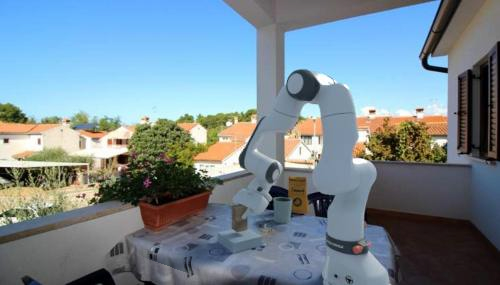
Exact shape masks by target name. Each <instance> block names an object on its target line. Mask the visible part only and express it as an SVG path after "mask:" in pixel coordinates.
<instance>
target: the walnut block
mask: <svg viewBox="0 0 500 285" xmlns="http://www.w3.org/2000/svg"><path fill="white" fill-rule="evenodd" d="M246 211H247V207H245V206H243V205H236V204H235V205H231V229H233V230H234V231H236V232H241V231H245V230H248V229H249V228H248V227H249V226H248V225H249V224H248V223H249V222H248V219H249V218H248V217H249V215H248V216H247V217H246V218H245V219H242V218H241V217H240V216H241V214H242V213H244V212H246Z"/></svg>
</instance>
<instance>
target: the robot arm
mask: <svg viewBox="0 0 500 285" xmlns="http://www.w3.org/2000/svg"><path fill="white" fill-rule="evenodd" d="M306 104H310V105H317V106H318V107H319V113H320V122H321V130H322V149H321V155H320V157H319V160H318V163H317V164H316V166H314V168H313V171H312V174H311V178H312V183H313V186H314V187H315V189H316V190H317V191H318V192H320V193H321V194H323V195H329V196H334V197H333V200H332V202H331V204H329V205H328V209H327V220H326V221H327V226H326V227H327V229H326V230H327V231H326V232H325V245H326V249H325V250H326V251H325V260H324V264H323V269H322V271H321V276H322V279H323V280H322V285H392V284H391V283H390V278H389V273H388V271H387V269H386V268H385V267H384V266H383V265H382V264H381V263H380V261H378V259H377V258H376V257H375V256H374V255H373V253H371V252H370V250H369V248H370V247H372V245H371V244H372V242H371V241H370V242H368V243H367V240H366V238H365V236H364V231H363V229H364V221H365V211H366V206H367V205H366V204H367V202H368V199H369V198H368V197H369V194H370V191H371V188H372V186H373V185H374V183H375V182H376V179H377V177H378V176H377V174H378V173H377V169H376V166H375V165H374V164H373V163H372V162H371V161H370V160H367V159H365V158H360V157H354V150H355V146H356V144H357V142H358V140H359V137H360V136H359V135H360V134H359V127H358V126H359V125H358V119H357V113H356V107H355V102H354V99H353V96H352V93H351V90H350V88H349V86H347V85H346V84H344V83H341V82H340V83H339V82H337V81H336V80H335V79H333V77H331V76H329V75H325V74H323V73H321V72H317V71H315V70H309V69H305V68H304V69H303V68H301V69H295V70H293V71H292V72H291V73H290V74H289V75H288V77H287V79H286V82H285V84H284V85H283V86H282V87H281V88H280V91H279V93H278V95H276V98H275V101H274V102H273V105H272V108H271V110H270V112H269V113H268V114H267V115H266V116H262V118H261V119H260V120H259V121H258V122H257V124H256V126H255V127H254V129H253V132H252V133H251V135H250V136H249V139H248V140H247V143H246V145H245V146H244V147H243V149H242V150H241V152H240V153H239V156H238V157H237V158H238V164H239V167H240V168H241V169H243V170H245V171H248V172H250V173H251V174H253V175H255V177H254V178H253V179H252V181H251V182H250V183H249V184H248V186H247V187H244V188H241V189H240V190H239V191H238V192H237V193H236V194H235V195H234V196H233V197H232V200H231V201H232V202H233V203H234V204H235V205H243V206H245V207H247V211H246V212H244V213H242V214H241V216H240V217H241V218H242V219H245V218H246V217H247V216H248V217H249V216H250V215H252V213H254V214H256V215H261V214H263V213H264V211H265V210H266V209H267V207H268V205H269V204H270V203H269V202H271V201H273V197H272V196H271V194H270V193H269V192H270V190H271V188H272V186H274V185H275V184H276V182H277V181H278V180H279V178H280V176H281V174H282V172H283V170H284V169H283V165H282V163H280V161H279V160H277V159H274V158H271V157H269V156H267V155H266V154H263V153H262V152H260V151H259V150H258V147H259V146H260V144H261V142H262V140H263V138H264V136H265V135H266V134H268V133H271V134H272V133H273V134H283V133H288V132H290V131H292V130H293V129H294V128H295V126H296V125H297V122H298V120H299V117H300V115H301V111H302V110H303V108H304V106H306ZM364 230H365V229H364Z"/></svg>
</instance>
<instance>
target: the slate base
mask: <svg viewBox="0 0 500 285" xmlns="http://www.w3.org/2000/svg"><path fill="white" fill-rule="evenodd" d="M217 243H219V244H220V245H222V246H223V247H224V248H226V250H228V251H229V252H231V253H232V254H237V253H241V252H245V251H248V250H250V249H255V248H258V247H261V246H263V235H261V234H259V233H258V232H255V231H253V230H252V229H250V228H248V230H245V231H241V232H236V231H234V230H233V229H232V228H231V229H228V230H222V231H218V232H217Z"/></svg>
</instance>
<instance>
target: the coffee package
mask: <svg viewBox="0 0 500 285" xmlns="http://www.w3.org/2000/svg"><path fill="white" fill-rule="evenodd" d="M307 182H308V180H307V176H295V175H294V176H293V175H290V176H288V191H287V192H288V194H287V196H288V198H290V199H292V206H291V214H298V215H307V214H308V213H309V199H308V188H307V186H308V184H307Z"/></svg>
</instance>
